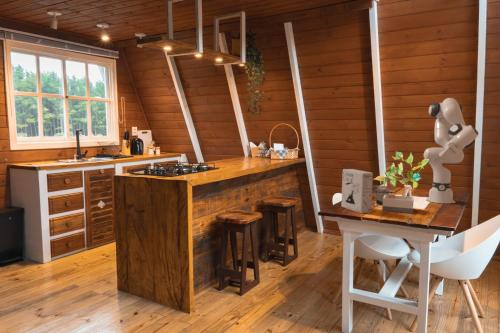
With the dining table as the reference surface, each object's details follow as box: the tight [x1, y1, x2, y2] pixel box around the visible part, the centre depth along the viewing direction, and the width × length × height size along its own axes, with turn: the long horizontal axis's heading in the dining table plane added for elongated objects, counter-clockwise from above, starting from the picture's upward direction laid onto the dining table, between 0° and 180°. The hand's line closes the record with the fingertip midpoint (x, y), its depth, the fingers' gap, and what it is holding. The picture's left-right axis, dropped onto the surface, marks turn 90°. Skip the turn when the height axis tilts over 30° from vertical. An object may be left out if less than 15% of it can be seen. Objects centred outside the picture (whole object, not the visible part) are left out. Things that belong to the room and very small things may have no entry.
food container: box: [374, 188, 395, 206], centre depth 271 cm, size 12×6×10 cm, turn 74°
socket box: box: [381, 195, 414, 214], centre depth 254 cm, size 14×18×8 cm
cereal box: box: [341, 168, 374, 214], centre depth 252 cm, size 22×8×25 cm, turn 21°
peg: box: [388, 193, 396, 199], centre depth 255 cm, size 4×4×10 cm
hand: (435, 162), depth 249 cm, fingers open, 8 cm apart
